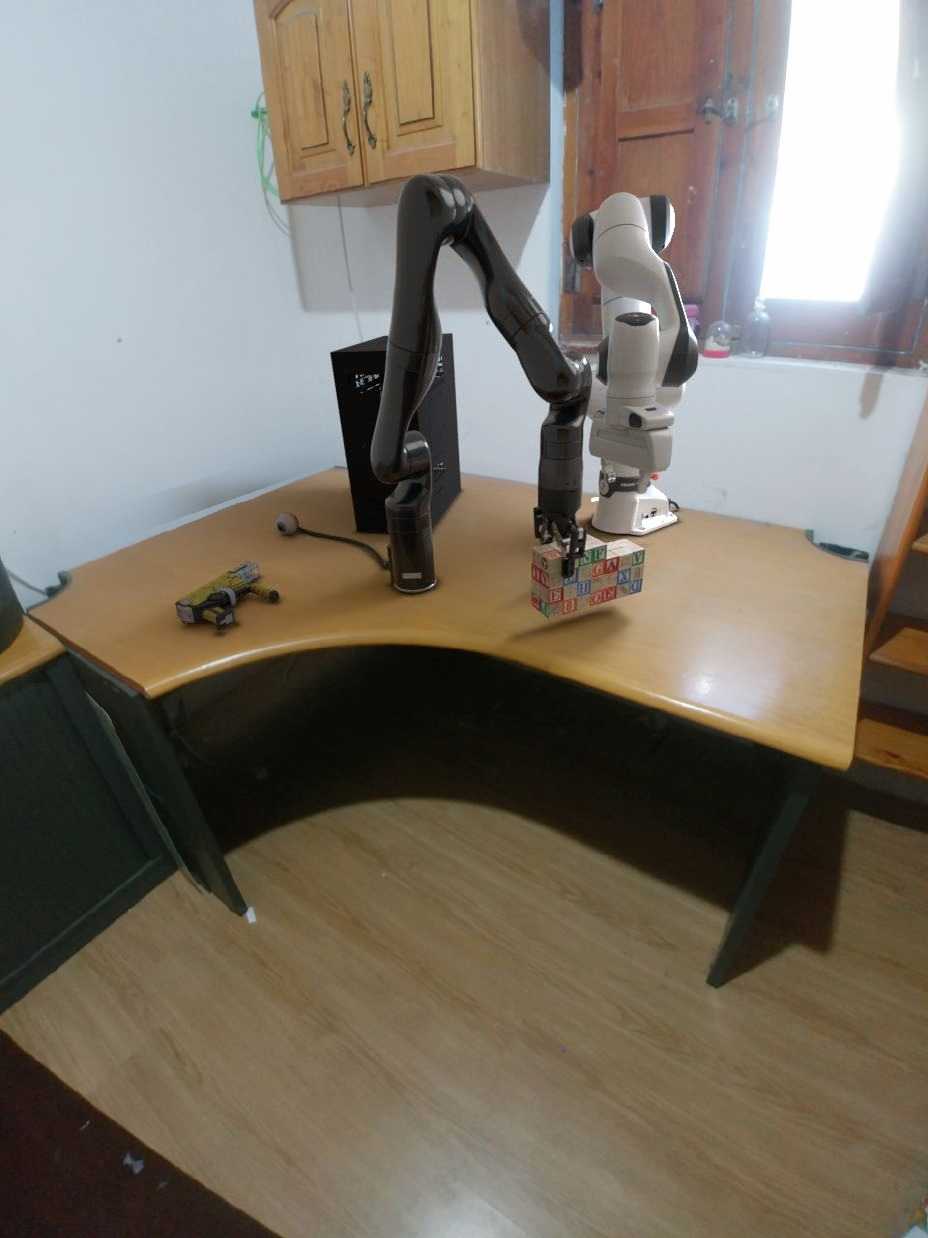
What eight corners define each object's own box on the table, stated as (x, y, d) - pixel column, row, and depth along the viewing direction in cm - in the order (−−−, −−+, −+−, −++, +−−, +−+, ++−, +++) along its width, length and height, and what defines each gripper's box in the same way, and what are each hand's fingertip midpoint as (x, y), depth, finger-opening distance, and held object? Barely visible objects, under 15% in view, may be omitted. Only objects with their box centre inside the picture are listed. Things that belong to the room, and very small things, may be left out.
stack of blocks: (621, 580, 123) (627, 523, 117) (641, 592, 118) (648, 534, 112) (530, 605, 116) (531, 546, 110) (548, 619, 111) (549, 558, 105)
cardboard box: (428, 534, 159) (412, 349, 137) (356, 531, 164) (329, 352, 141) (461, 489, 191) (452, 333, 168) (400, 488, 195) (384, 335, 173)
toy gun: (300, 570, 137) (245, 558, 141) (232, 617, 117) (169, 602, 121) (302, 588, 139) (247, 576, 143) (235, 638, 119) (173, 622, 123)
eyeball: (273, 537, 164) (268, 516, 161) (287, 528, 169) (282, 508, 166) (291, 539, 161) (286, 518, 158) (305, 530, 166) (301, 510, 163)
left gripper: (520, 474, 107) (520, 560, 115) (564, 496, 95) (561, 590, 104) (556, 467, 109) (553, 552, 118) (604, 488, 98) (597, 580, 106)
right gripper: (582, 407, 118) (580, 478, 124) (652, 421, 101) (645, 501, 107) (609, 404, 120) (605, 473, 126) (681, 416, 103) (673, 496, 109)
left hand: (557, 569), depth 111 cm, fingers closed on stack of blocks, 6 cm apart
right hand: (624, 486), depth 116 cm, fingers open, 8 cm apart
